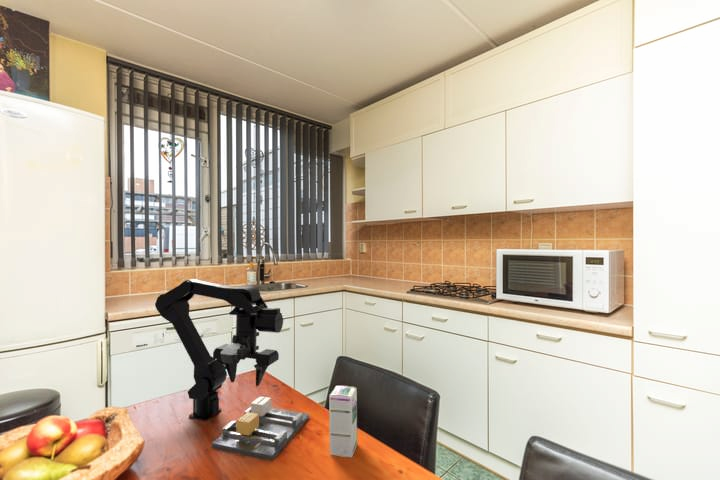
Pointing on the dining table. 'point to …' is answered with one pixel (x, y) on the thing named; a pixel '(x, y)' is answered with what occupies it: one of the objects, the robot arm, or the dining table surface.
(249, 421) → the fader amber
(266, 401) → the fader ivory
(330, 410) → the syrup box
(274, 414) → the console
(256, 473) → the dining table surface
